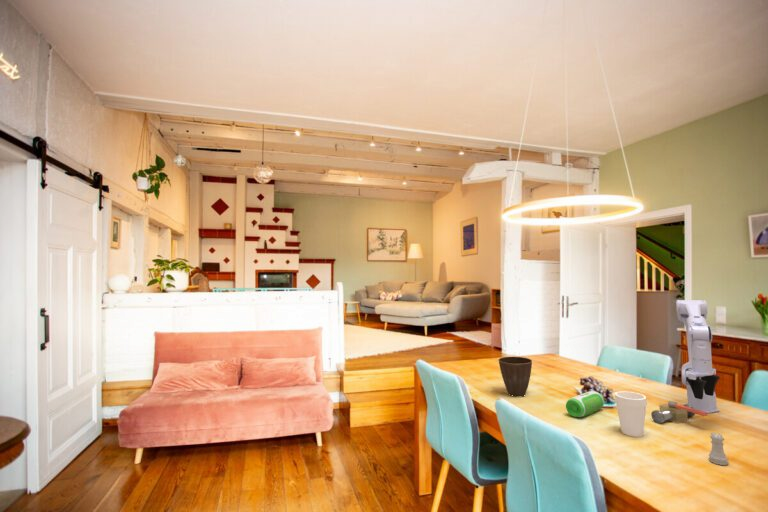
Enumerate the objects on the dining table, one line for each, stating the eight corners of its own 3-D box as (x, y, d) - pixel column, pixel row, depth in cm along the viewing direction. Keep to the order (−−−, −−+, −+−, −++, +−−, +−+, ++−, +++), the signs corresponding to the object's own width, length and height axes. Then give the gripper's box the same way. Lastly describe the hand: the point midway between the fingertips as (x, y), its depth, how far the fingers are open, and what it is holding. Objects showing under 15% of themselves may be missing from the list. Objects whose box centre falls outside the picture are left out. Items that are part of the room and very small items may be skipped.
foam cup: (633, 440, 128) (631, 401, 129) (610, 429, 137) (608, 393, 138) (655, 436, 131) (653, 397, 131) (631, 426, 140) (629, 390, 140)
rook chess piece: (708, 457, 116) (706, 430, 116) (728, 461, 113) (726, 433, 113) (708, 463, 112) (706, 435, 113) (729, 467, 109) (727, 439, 110)
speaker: (583, 421, 146) (582, 401, 147) (564, 415, 152) (563, 396, 153) (606, 410, 156) (605, 392, 156) (588, 406, 162) (587, 388, 162)
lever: (666, 405, 146) (666, 401, 146) (671, 404, 147) (671, 401, 147) (702, 416, 134) (702, 412, 134) (707, 415, 135) (707, 411, 135)
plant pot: (521, 402, 169) (519, 365, 170) (493, 394, 181) (491, 359, 182) (540, 395, 178) (538, 360, 179) (512, 387, 190) (511, 355, 191)
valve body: (681, 413, 150) (680, 401, 151) (698, 419, 145) (697, 406, 145) (649, 420, 145) (648, 407, 145) (665, 425, 139) (664, 412, 140)
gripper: (699, 354, 146) (701, 390, 145) (677, 359, 140) (680, 397, 139) (721, 357, 140) (724, 395, 139) (700, 362, 133) (703, 402, 133)
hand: (703, 396), depth 139 cm, fingers open, 7 cm apart
